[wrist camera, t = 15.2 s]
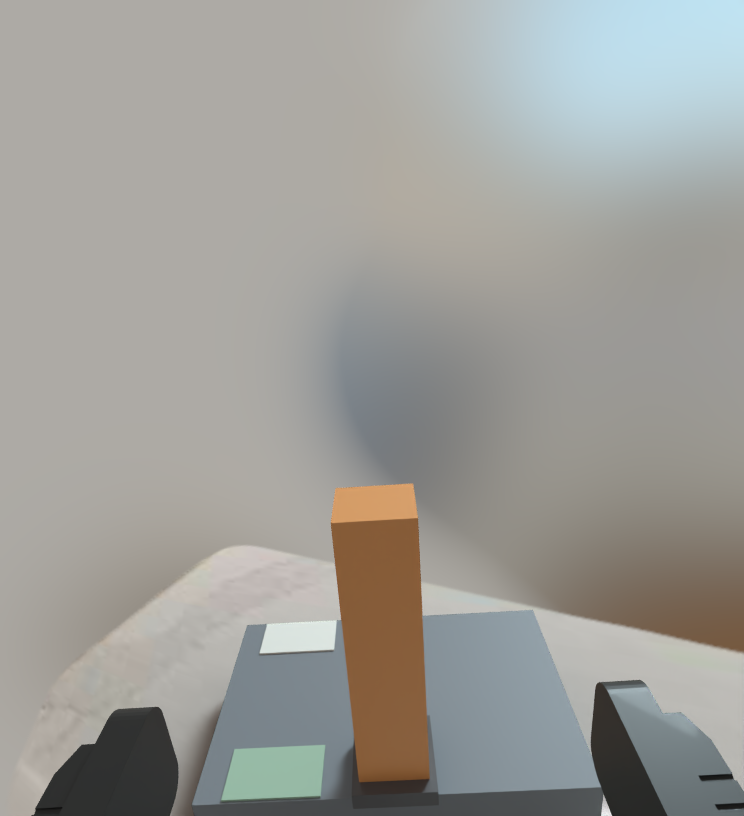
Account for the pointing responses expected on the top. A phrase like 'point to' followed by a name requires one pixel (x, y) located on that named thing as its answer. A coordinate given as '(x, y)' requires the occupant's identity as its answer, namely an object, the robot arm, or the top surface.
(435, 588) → the top surface
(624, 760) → the robot arm
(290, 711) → the switch box
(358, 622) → the handle
